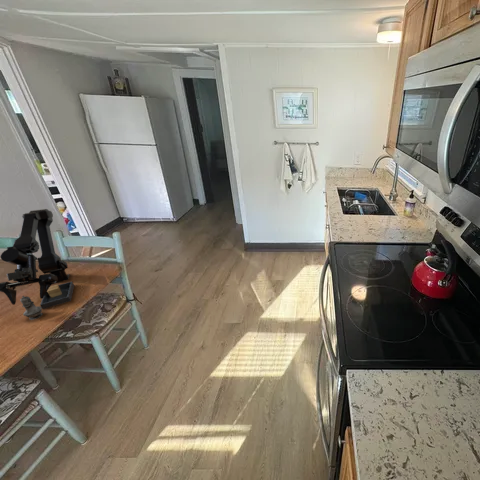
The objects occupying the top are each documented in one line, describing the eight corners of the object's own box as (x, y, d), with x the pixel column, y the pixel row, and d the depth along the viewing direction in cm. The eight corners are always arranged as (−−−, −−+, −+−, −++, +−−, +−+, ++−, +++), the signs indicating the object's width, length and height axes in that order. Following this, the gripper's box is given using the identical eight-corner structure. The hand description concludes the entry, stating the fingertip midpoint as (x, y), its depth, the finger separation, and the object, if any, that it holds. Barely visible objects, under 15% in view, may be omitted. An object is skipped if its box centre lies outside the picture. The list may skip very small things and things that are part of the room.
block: (50, 294, 132) (46, 287, 130) (61, 290, 134) (57, 284, 132) (51, 298, 129) (47, 291, 127) (61, 294, 132) (58, 287, 130)
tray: (49, 292, 134) (46, 288, 132) (74, 286, 139) (72, 281, 137) (43, 309, 123) (39, 304, 121) (71, 301, 128) (68, 296, 126)
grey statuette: (34, 322, 115) (19, 301, 110) (23, 320, 117) (8, 299, 111) (49, 313, 121) (35, 292, 115) (38, 311, 122) (25, 290, 116)
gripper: (-18, 268, 108) (-18, 305, 105) (42, 257, 116) (44, 292, 112) (3, 274, 118) (4, 308, 114) (57, 264, 125) (59, 296, 122)
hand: (27, 301), depth 115 cm, fingers open, 9 cm apart
